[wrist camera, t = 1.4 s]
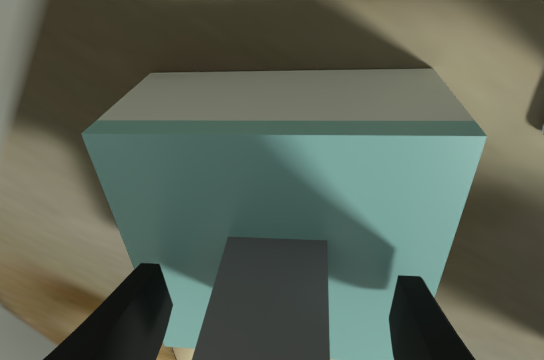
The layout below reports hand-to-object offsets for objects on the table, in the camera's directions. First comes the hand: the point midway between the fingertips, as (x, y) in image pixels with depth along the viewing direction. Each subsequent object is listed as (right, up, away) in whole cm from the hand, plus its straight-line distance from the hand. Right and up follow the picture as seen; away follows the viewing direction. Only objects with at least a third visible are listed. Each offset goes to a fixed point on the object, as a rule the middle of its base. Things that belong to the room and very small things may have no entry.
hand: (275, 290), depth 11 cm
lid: (0, +1, +2) cm, 2 cm away
